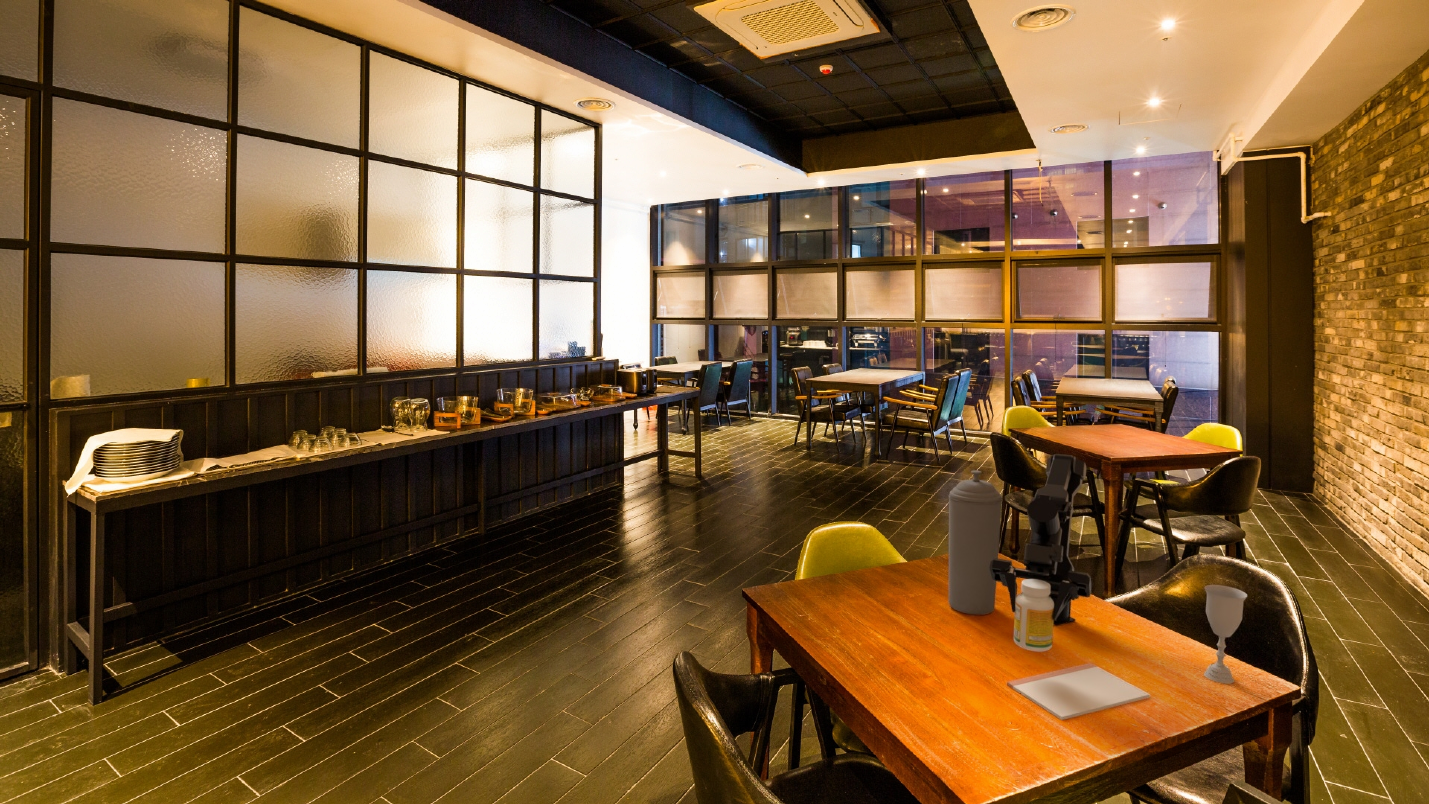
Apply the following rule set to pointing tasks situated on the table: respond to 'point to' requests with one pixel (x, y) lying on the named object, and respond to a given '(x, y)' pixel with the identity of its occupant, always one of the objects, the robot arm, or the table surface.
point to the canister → (973, 545)
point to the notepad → (1077, 690)
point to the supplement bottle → (1034, 616)
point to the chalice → (1223, 624)
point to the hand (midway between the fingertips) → (1033, 615)
